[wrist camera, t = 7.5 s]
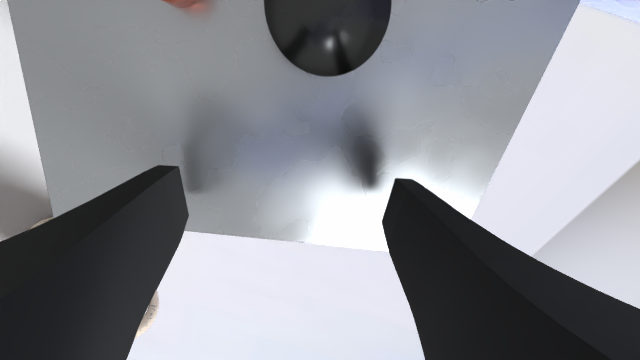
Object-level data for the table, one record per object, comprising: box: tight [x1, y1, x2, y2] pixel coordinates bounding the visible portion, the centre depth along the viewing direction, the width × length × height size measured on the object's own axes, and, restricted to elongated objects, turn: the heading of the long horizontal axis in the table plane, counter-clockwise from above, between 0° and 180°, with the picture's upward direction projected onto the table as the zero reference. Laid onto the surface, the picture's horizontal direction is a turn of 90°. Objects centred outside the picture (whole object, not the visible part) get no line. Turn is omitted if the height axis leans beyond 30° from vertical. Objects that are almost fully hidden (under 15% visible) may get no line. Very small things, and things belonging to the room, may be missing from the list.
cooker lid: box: [7, 0, 580, 251], centre depth 8 cm, size 16×16×3 cm
